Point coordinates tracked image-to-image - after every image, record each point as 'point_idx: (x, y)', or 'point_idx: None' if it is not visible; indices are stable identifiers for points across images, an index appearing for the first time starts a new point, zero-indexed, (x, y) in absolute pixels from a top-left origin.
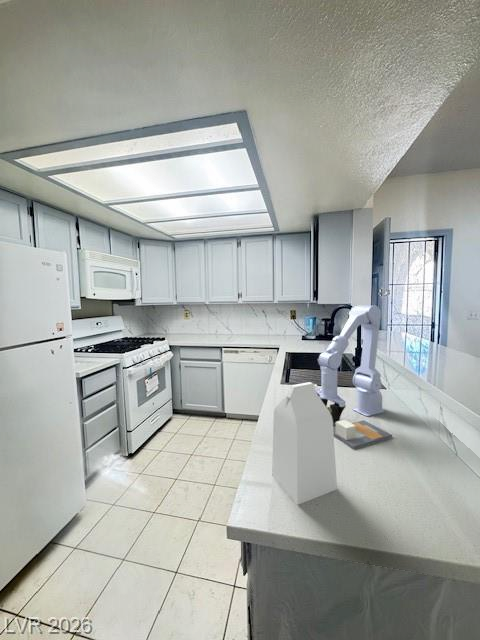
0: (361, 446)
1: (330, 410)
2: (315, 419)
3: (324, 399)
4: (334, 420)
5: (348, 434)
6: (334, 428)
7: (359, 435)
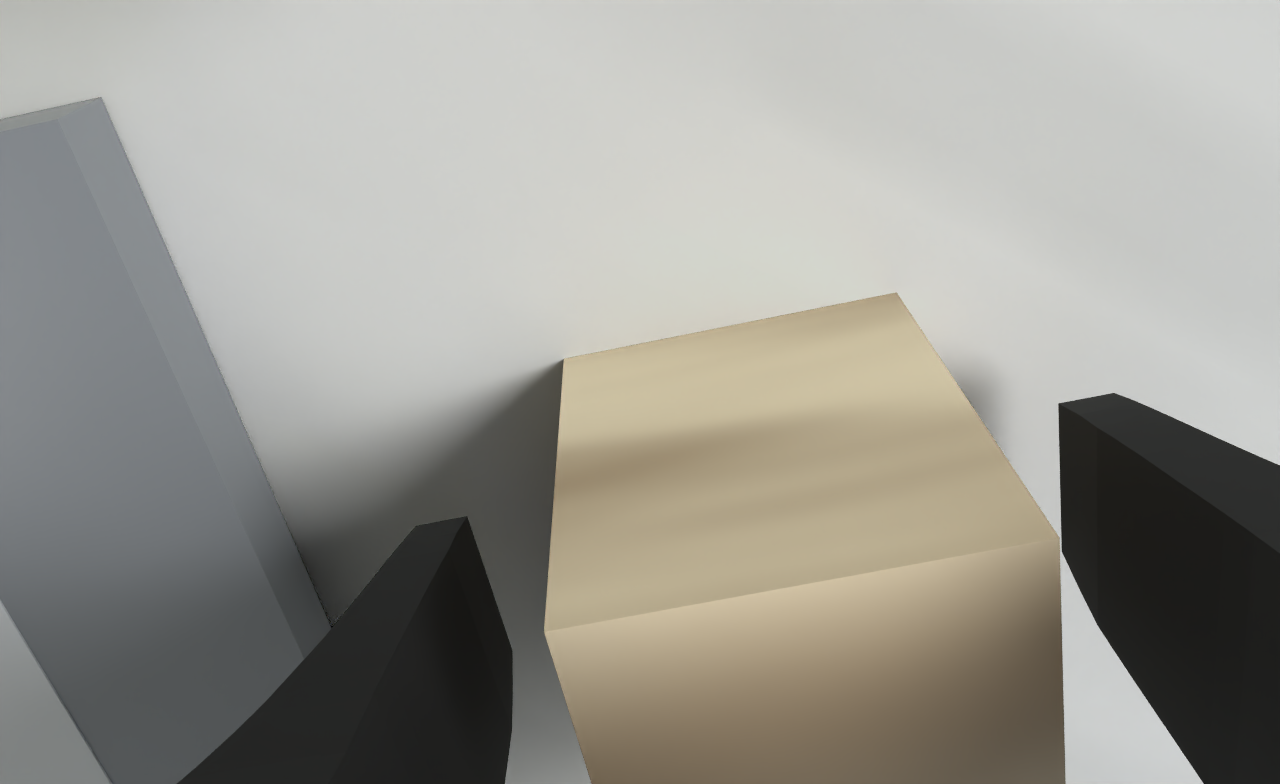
0: None
1: (721, 767)
2: None
3: None
4: (378, 576)
5: None
6: (128, 375)
7: None
